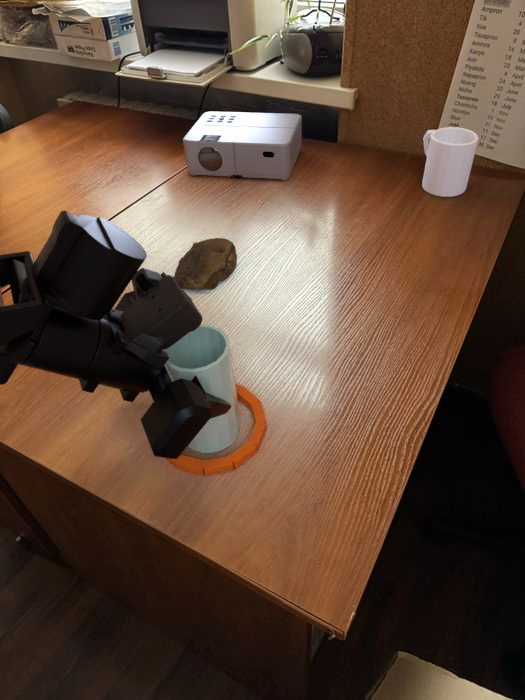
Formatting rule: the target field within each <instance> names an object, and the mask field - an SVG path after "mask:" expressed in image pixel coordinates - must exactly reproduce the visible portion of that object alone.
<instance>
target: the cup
mask: <svg viewBox="0 0 525 700" xmlns="http://www.w3.org/2000/svg"><path fill="white" fill-rule="evenodd" d="M162 350H163V349H162ZM163 351H165V352H167V354H168V356H169V359H168V361H167V362H166V365H167V367H168V369H169V371H170V373H171V375H172V377H173V379H174V381H175V380H178V379H181V378H183V379H186V380H189V381H191V380H192V379H193V378H194V377H195V375H196V376H197V378H198V379H199V381H200V383H201V385H202V387H203V389H204V391H205V392H206V393H209V394H211V395H213V396H215V397H218V398H220V399H222V400H224V401H226V402H228V403H230V404H231V406H232V407H231V408H230V410H229V411H228V412H227V413H226V414H223V415H220V416H217V417H214V418H211V419H209V420H208V422H207V423H206V424H205V425H204V427H203V428H202V429H201V430H200V432H199V433H198V434H197V435H196V436H195V438H194V439H193V440H192V441H191V443H190V444H189V445H188V446H187V448H189V449H191V450H193V451H195V452H198V453H203V454H213V453H218V452H222V451H223V450H226V449H227V448H229V447H230V446H231V445H232V444H234V442H236V440H237V438H238V437H239V435H240V431H241V418H240V410H239V404H238V403H239V402H238V398H237V394H236V386H235V384H236V379H235V372H234V365H233V356H232V349H231V342H230V339H229V336H228V334H226V333H225V332H224V330H223V329H221V328H220V327H217V326H214V325H212V324H205V323H201V325H200V326H199V327H198V328H197V329H196V330H194V331H192V332H189V333H188V334H186V335H185V336H184V337H183V338H181V339H180V340H179V341H177V342H176V343H175V344H173V345H172V346H171V347H169V348H168V349H164V350H163Z"/></svg>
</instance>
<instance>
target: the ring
mask: <svg viewBox="0 0 525 700" xmlns="http://www.w3.org/2000/svg"><path fill="white" fill-rule="evenodd" d="M235 386H236V394H237V400H239V401H240V402H241V403H242V404H244V405H245V406H246V407H247V408H248V409H249V410H251V412H252V417H253V420H254V425H253V428H252V431H251V434H250V435H249V438H248V440H247V441H246V442H245V443H244V444H242V445H241V446H240V447H238V448H237V449H236V450H234V452H233V451H232V453H230V454H229V455H226V456H221V457H217V458H210V459H207V460H204V459H200V458H196V457H193V456H188V455H184V454H181V455H180V456H179V457H178V459H170V458H166V459H167V460H168V462H169V463H170V464H171V465H172V466H173V467H174V468H176V470H179V471H182V472H187V473H190V474H194V475H197V476H200V477H204V476H205V477H208V476H212V475H217V474H221V473H227V472H231V471H234V470H236V469H238V468H239V467H240V466H242V465H243V464H244V463H246V462H247V461H248V460H249V459H251V458H252V457H253V456H255V455H256V454H257V453H258V451H259V450H260V447H261V445H262V443H263V441H264V437H265V435H266V432H267V428H268V426H267V419H266V415H265V411H264V408H263V404H262V401H261V400H260V399H259V398H258V397H257V396H256V395H254V394H253V393H252V392H251V391H250V390H249V389H248V388H246V387H245V386H242V384H238V383H235Z"/></svg>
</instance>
